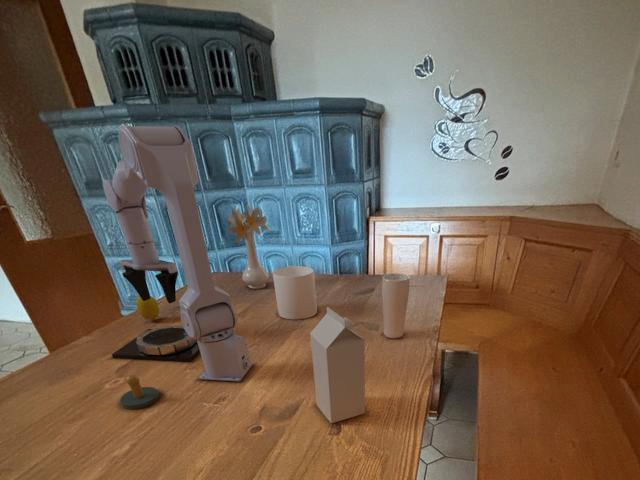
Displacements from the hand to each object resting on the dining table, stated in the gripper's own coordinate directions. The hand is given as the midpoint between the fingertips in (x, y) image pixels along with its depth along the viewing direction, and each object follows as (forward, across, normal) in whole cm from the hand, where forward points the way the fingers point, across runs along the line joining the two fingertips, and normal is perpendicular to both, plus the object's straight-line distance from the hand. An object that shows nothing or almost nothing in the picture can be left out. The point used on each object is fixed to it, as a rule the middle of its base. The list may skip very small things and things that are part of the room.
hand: (159, 300), depth 97 cm
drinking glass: (+10, +57, +16) cm, 60 cm away
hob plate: (+10, +3, -5) cm, 11 cm away
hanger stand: (+10, +14, -28) cm, 33 cm away
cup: (+10, +26, +26) cm, 38 cm away
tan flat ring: (+9, +4, -6) cm, 11 cm away
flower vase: (+10, +2, +47) cm, 48 cm away
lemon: (+10, -13, +9) cm, 19 cm away
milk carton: (+10, +54, -22) cm, 60 cm away
